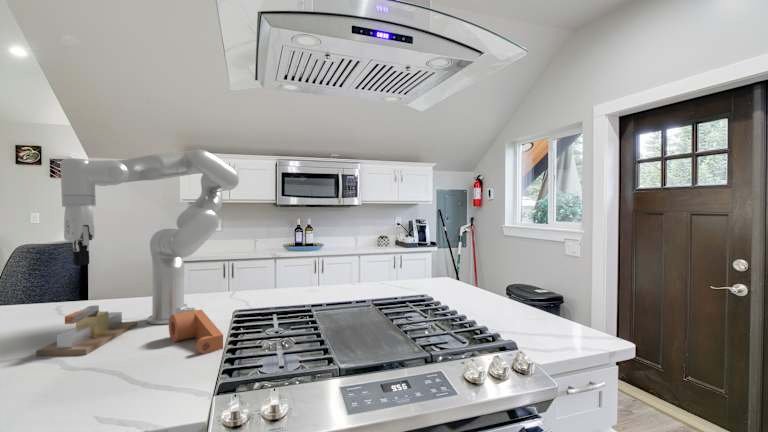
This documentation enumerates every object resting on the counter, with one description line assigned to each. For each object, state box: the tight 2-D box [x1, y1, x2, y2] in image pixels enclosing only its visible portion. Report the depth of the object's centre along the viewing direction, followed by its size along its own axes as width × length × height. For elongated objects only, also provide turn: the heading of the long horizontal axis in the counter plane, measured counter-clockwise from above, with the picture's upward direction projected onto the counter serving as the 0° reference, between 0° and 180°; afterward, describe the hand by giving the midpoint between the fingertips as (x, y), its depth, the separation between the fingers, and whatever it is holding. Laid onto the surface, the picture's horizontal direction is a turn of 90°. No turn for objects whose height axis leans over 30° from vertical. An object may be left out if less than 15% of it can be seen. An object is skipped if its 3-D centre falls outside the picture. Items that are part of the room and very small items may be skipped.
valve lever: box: [64, 304, 100, 325], centre depth 102 cm, size 12×3×2 cm, turn 13°
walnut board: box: [35, 321, 138, 357], centre depth 107 cm, size 24×12×2 cm, turn 7°
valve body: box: [56, 310, 123, 349], centre depth 107 cm, size 22×5×6 cm, turn 7°
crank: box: [168, 309, 224, 355], centre depth 105 cm, size 20×8×8 cm, turn 47°
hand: (81, 264), depth 105 cm, fingers closed
